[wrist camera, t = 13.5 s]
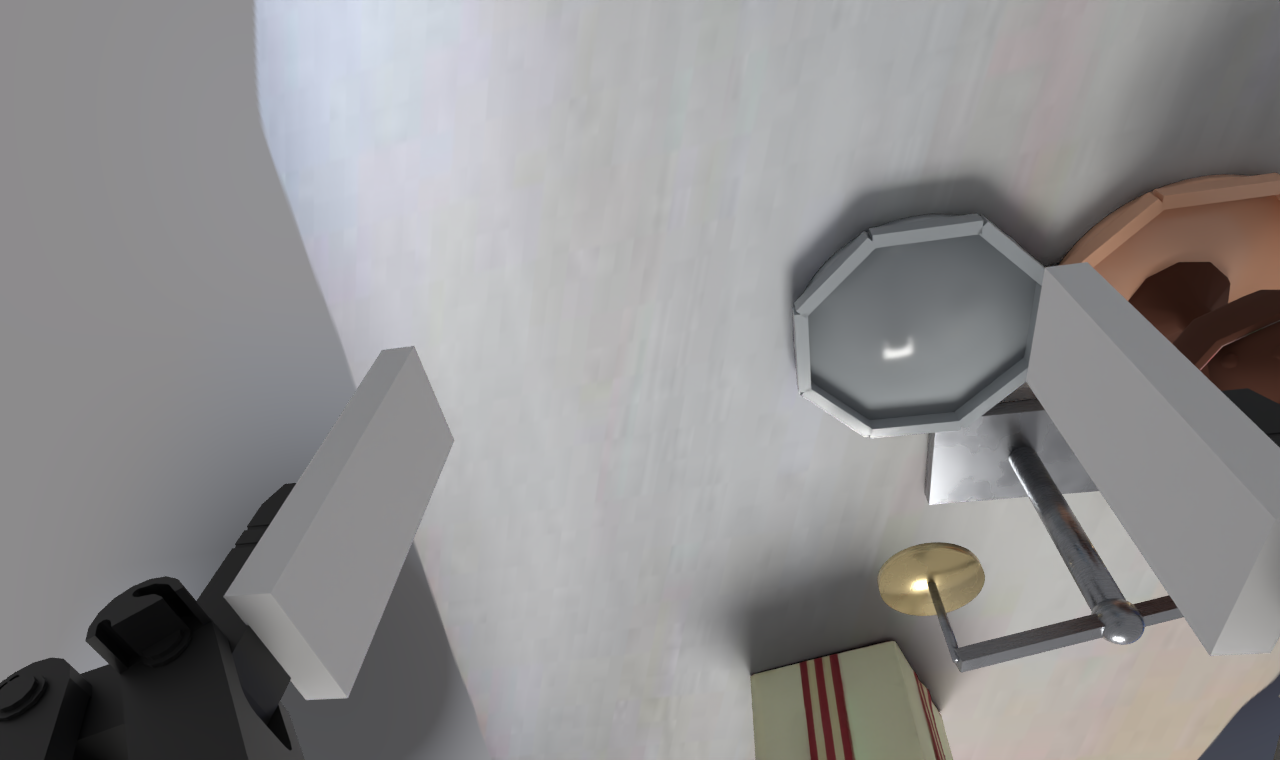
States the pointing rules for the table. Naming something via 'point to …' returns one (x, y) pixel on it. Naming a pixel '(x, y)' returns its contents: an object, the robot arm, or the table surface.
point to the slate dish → (917, 325)
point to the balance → (1042, 470)
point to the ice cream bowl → (1216, 326)
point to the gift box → (847, 710)
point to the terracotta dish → (1191, 233)
